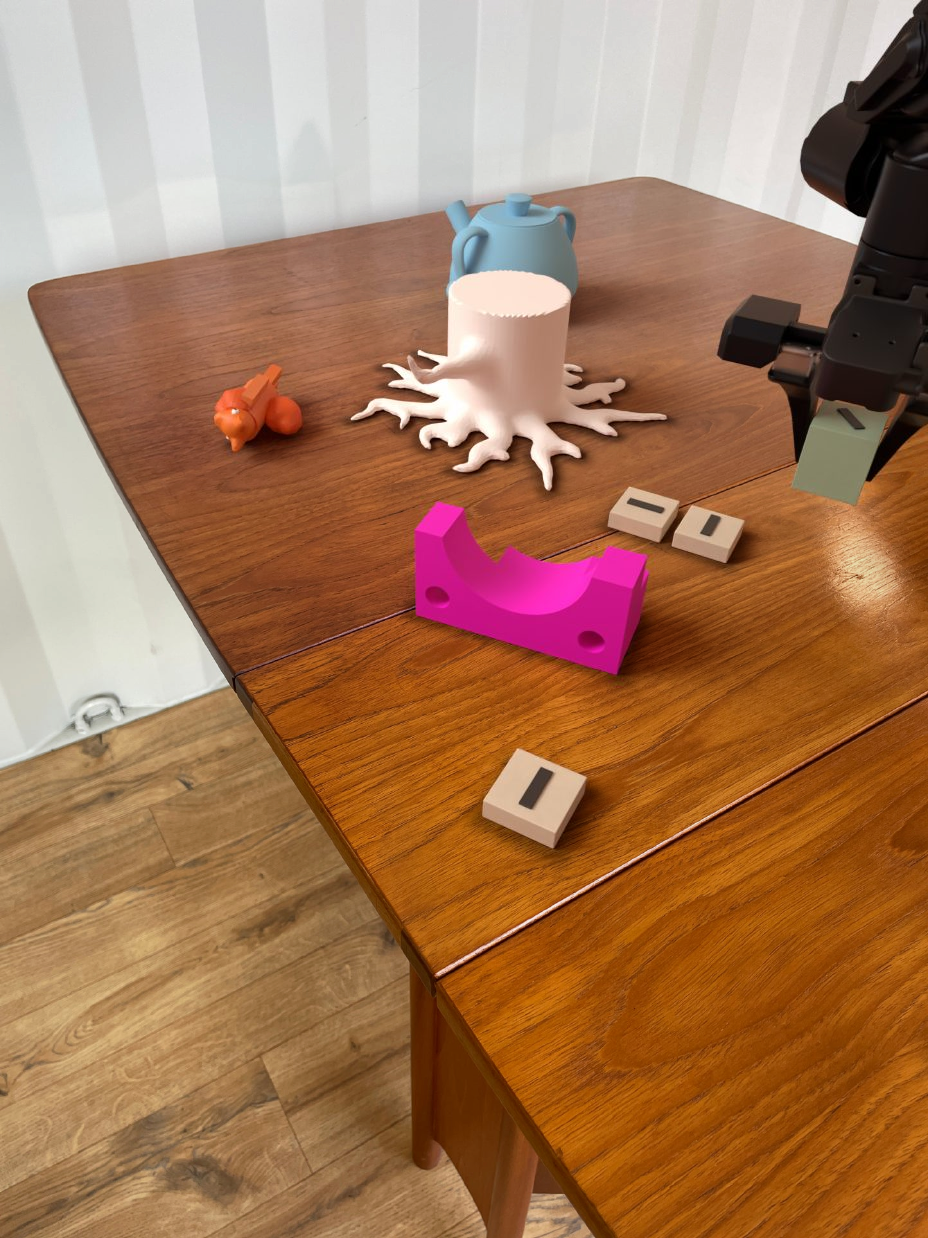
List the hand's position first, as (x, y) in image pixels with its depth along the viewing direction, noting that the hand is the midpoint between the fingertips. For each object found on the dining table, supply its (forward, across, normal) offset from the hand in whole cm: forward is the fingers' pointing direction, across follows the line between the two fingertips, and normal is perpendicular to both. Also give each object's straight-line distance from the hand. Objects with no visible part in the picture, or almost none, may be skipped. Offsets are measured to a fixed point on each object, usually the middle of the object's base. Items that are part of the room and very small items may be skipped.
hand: (832, 469), depth 63 cm
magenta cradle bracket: (+10, -16, -15) cm, 24 cm away
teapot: (+10, -45, +38) cm, 59 cm away
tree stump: (+10, -33, +13) cm, 36 cm away
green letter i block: (+1, 0, 0) cm, 1 cm away
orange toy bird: (+10, -49, -3) cm, 50 cm away
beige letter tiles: (+9, -10, +1) cm, 14 cm away
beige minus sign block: (+9, -8, -30) cm, 33 cm away
